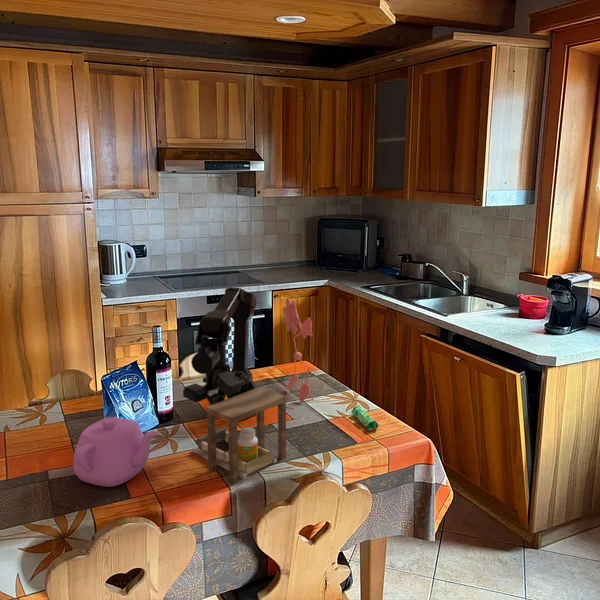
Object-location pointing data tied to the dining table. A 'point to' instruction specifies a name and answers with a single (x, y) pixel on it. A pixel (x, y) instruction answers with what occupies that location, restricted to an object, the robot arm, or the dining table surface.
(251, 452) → the supplement bottle
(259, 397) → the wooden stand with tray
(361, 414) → the candy
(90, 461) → the teapot
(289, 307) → the figurine
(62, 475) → the dining table surface
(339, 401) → the dining table surface
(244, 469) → the wooden rack
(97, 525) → the dining table surface
